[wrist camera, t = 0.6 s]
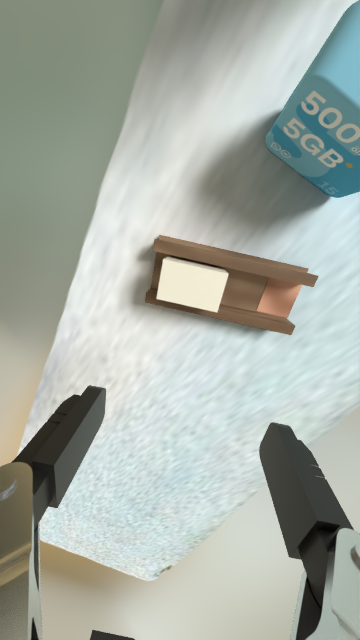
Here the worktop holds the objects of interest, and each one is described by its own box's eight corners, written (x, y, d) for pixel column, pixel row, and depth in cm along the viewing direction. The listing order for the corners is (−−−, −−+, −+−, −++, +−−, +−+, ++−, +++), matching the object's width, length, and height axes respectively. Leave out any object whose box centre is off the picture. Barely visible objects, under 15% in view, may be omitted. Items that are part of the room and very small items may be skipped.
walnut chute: (160, 235, 30) (155, 234, 26) (305, 267, 30) (320, 271, 26) (150, 298, 34) (144, 306, 30) (279, 328, 34) (289, 338, 30)
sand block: (169, 255, 30) (163, 259, 24) (222, 267, 30) (228, 273, 24) (163, 288, 31) (156, 298, 26) (213, 300, 32) (217, 312, 26)
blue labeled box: (260, 144, 25) (311, 68, 14) (285, 103, 24) (364, -19, 13) (333, 200, 27) (430, 171, 16) (361, 165, 25) (491, 103, 14)
